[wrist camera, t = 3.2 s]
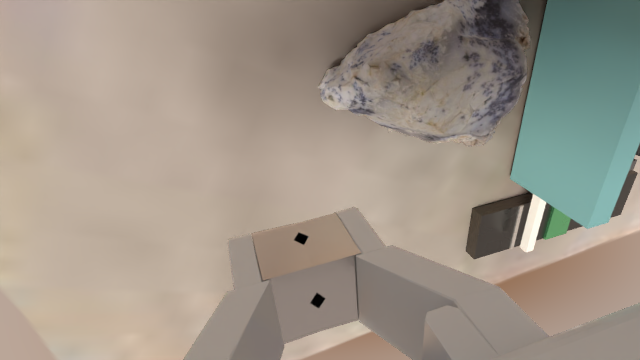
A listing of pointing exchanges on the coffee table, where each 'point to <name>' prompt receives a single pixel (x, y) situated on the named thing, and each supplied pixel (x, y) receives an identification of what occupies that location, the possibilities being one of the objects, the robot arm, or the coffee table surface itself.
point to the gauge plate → (580, 112)
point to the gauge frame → (524, 221)
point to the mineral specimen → (437, 71)
